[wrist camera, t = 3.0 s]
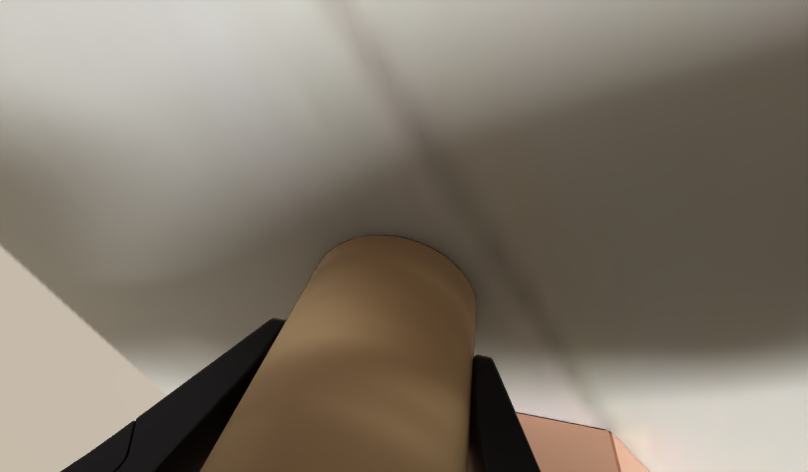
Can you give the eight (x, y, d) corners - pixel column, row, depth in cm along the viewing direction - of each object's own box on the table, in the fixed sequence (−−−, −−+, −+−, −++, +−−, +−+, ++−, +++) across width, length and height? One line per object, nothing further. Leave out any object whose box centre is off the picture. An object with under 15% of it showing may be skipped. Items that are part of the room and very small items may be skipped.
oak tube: (489, 249, 9) (483, 651, 4) (463, 368, 12) (439, 699, 7) (305, 223, 10) (79, 540, 4) (320, 341, 12) (192, 625, 7)
